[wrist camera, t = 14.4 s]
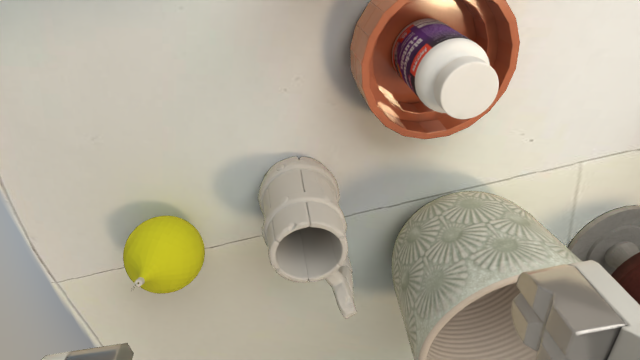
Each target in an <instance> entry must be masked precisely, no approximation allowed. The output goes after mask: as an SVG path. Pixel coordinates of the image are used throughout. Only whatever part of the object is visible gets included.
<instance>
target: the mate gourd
mask: <svg viewBox="0 0 640 360" xmlns="http://www.w3.org/2000/svg"><path fill="white" fill-rule="evenodd" d="M568 249H569V250H570V251H571V252H572V253H573V254H575V255H576V256H577V257H578V258H579V259H580V260H581V261H582V262H583V261H589V260H593V261H595V262H597V263H599V264H600V265H601V266H602V267H603V268H604V269H605V270H606V271H607V272H608V273H609V274H610V275H611V276H612V277H613V278H614V279H615V280H616V281H617V282H618V283H619V284H620V285H621V286H622V287H623V289H624V290H625V291H626V292H627V293H628V294H629V295H630V296H631V297H632V298H633V299H634V300H635V301H636V302H637V303H638V304H639V305H640V206H636V205H634V206H625V207H621V208H617V209H614V210H612V211H609V212H607V213H605V214H603V215H601V216H599V217H597V218H596V219H594V220H593V221H591V222H590V223H589V224H587V225H586V226H585V227H584V228H583V229H582V230H581V231H580V232H578V234H577V235H576V236H575V237H574V239H573V240H572V241H571V243H570V245H569V246H568Z"/></svg>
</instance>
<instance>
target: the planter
mask: <svg viewBox="0 0 640 360" xmlns="http://www.w3.org/2000/svg"><path fill="white" fill-rule="evenodd" d="M577 262H582V261H581V260H580V259H579V258H578V257H577V256H576V255H575V254H573V253H572V252H571V251H570V250H569V249H568V248H567V247H566V246H565V245H564V244H562V243H561V242H560V241H559V240H558V239H557V238H556V237H555V236H554V235H553V234H551V233H550V232H549V231H548V230H547V229H546V228H545V227H544V226H543V225H542V224H540V223H539V222H538V221H537V220H536V219H535V218H534V217H533V216H532V215H530V214H529V213H528V212H527V211H525V210H524V209H523V208H521V207H520V206H518V205H517V204H515V203H513V202H511V201H509V200H507V199H505V198H502V197H500V196H497V195H494V194H490V193H485V192H479V191H466V192H458V193H453V194H449V195H446V196H443V197H440V198H438V199H435V200H433V201H432V202H430V203H428V204H426V205H425V206H423V207H422V208H421V209H419V210H418V211H417V212H416V213H415V214H413V216H412V217H411V218H410V219H409V220H408V221H407V222H406V224H405V225H404V226H403V228H402V229H401V231H400V233H399V235H398V237H397V239H396V242H395V245H394V249H393V255H392V278H393V284H394V289H395V292H396V296H397V299H398V303H399V306H400V310H401V314H402V317H403V321H404V324H405V328H406V331H407V335H408V339H409V342H410V346H411V349H412V353H413V356H414V360H536V352H537V351H535V350H533V349H532V348H530V347H528V346H527V345H525V344H524V343H523V342H522V340H521V338H520V337H519V335H518V333H517V331H516V329H515V326H514V324H513V319H512V314H511V308H512V302H513V299H514V298H515V297H516V296H517V295H518V294H519V293H520V290H519V289H518V287H517V286H516V283H517V279H518V276H519V275H520V274H521V273H522V272H527V271H532V270H537V269H543V268H548V267H553V266H558V265H564V264H566V265H567V264H572V263H577Z"/></svg>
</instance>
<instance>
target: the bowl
mask: <svg viewBox="0 0 640 360" xmlns="http://www.w3.org/2000/svg"><path fill="white" fill-rule="evenodd" d="M420 19H435V20H438V21H441V22H443V23H444V24H446V25H448V26H449V27H451V28H453V29H454V30H456V31H457V32H459V33H461V34H462V35H464V36H466V37H467V38H469V39H470V40H472V41H474V42H475V43H476V44H478V45H479V46H480V47H481V48H482V49H483V50H484V51H485V53H486V54H487V56H488V59H489V63H490V66H491V67H492V68H493V69H494V70H495V72H496V74H497V76H498V80H499V88H498V93H497V95H496V98H495V99H494V101H493V103H492V104H491V105H490V106H489V107H488V108H487V109H486V110H485V111H484V112H483V113H481V114H480V115H478V116H476V117H473V118H469V119H456V118H453V117H451V116H449V115H448V114H447V113H440V112H436V111H434V110H432V109H430V108H428V107H427V106H426V105H425V104H424V103H423V102H422V101H421V100H420V99H419V98H418V97H417V95H416V94H415V93H414V92H413V91H412V90H411V88H410V87H409V86H408V85H407V84H406V83H405V82H404V80H403V79H402V78H401V77H400V76H399V75H398V73H397V72H396V70H395V68H394V66H393V62H392V48H393V45H394V42H395V40H396V38H397V36H398V35H399V33H400V32H401V31H402V30H403V29H404V28H405V27H406V26H408V25H409V24H411V23H412V22H414V21H417V20H420ZM519 45H520V41H519V35H518V28H517V22H516V18H515V16H514V14H513V12H512V11H511V9H510V7H509V5H508V4H507V2H506V0H371V1H370V2H369V3H368V5H367V7H366V8H365V10H364V12H363V13H362V15H361V17H360V18H359V20H358V22H357V24H356V27H355V31H354V34H353V38H352V42H351V46H350V58H351V71H352V74H353V77H354V79H355V82H356V84H357V87H358V89H359V91H360V93H361V95H362V96H363V98H364V100H365V101H366V103H367V105H368V106H369V108H370V110H371V111H372V112H373V113H374V114H375V115H376V117H377V118H378V119H379V120H380V121H381V122H382V123H383V124H384V125H385V126H386V127H388V128H390V129H391V130H393V131H395V132H397V133H399V134H401V135H403V136H408V137H414V138H420V139H430V138H437V137H444V136H449V135H451V134H453V133H456V132H458V131H460V130H463V129H465V128H467V127H469V126H471V125H472V124H473V123H475V122H476V121H477V120H479V119H480V118H481V117H482V116H484V115H485V114H486V113H488V112H489V111H490V110H491V108H492V107H493V106H494V105H495V103H496V102H497V101H498V100H499V98H500V97H501V96H502V95H503V93H504V92H505V91H506V89H507V87H508V84H509V82H510V80H511V78H512V76H513V73H514V71H515V69H516V64H517V58H518V51H519Z"/></svg>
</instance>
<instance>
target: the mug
mask: <svg viewBox="0 0 640 360" xmlns="http://www.w3.org/2000/svg"><path fill="white" fill-rule="evenodd" d="M339 200H340V194H339V188H338V184H337V182H336V180H335V178H334V176H333V175H332V173H331V172H330V171H329V170H328V169H327V168H325V166H324V165H323V164H321V163H320V162H318V161H317V160H314V159H312V158H309V157H301V158H300V159H299V160H298V157H290V158H287V159H284V160H282V161H280V162H278V163H276V164H275V165H274V166H272V167H271V168H270V169H269V170H268V172H267V174H266V175H265V177H264V180H263V182H262V183H261V186H260V189H259V195H258V202H259V205H260V208H261V211H262V213H263V215H264V216H265V220H264V223H263V227H262V234H263V237H264V240H265V243H266V245H267V247H268V251H269V259H270V263H271V265H272V266H273V267H274V268H275V269H276V272H277V273H278V274H279V275H281V276H282V277H284V278H286V279H288V280H291V281H295V282H307V280H308V281H309V282H315V281H319V280H322V279H325V280H326V281H327V282H328V283H329V284H330V286H331V287H332V289H333V292H334V295H335V298H336V301H337V304H338V307H339V309H340V311H341V313H342V315H343V316H344V318H345V319H348V318H349V317H351V316H353V315H355V314H356V312H357V311H356V308H355V305H354V299H353V279H352V273H353V271H352V267H351V263H350V260H349V257H348V255H347V253H348V244H347V239H346V235H345V233H346V232H345V231H346V230H347V224H346V221H345V218H344V215H343V212H342V210H341V208H340V207H339V205H338V201H339Z"/></svg>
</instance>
